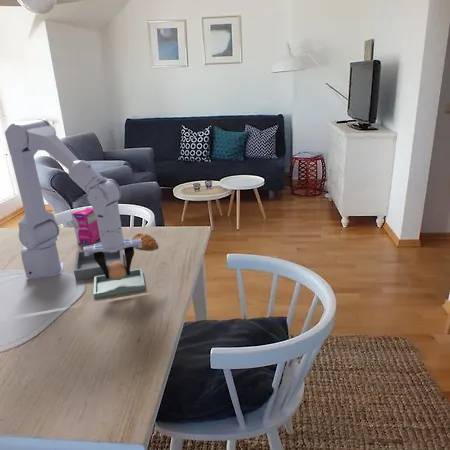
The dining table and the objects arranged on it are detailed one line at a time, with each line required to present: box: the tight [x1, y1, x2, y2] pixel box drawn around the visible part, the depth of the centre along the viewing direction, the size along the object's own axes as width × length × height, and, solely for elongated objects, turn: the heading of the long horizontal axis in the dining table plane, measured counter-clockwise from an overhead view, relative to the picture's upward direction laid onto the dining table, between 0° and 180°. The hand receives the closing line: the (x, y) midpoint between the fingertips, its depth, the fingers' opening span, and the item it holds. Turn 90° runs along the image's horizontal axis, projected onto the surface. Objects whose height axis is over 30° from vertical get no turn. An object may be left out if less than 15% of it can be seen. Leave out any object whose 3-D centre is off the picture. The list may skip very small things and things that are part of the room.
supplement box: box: [71, 207, 100, 245], centre depth 139 cm, size 6×6×12 cm
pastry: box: [131, 233, 159, 251], centre depth 134 cm, size 9×7×4 cm
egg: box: [108, 261, 127, 280], centre depth 110 cm, size 5×5×5 cm
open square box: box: [73, 250, 125, 281], centre depth 122 cm, size 13×13×4 cm
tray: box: [92, 268, 146, 299], centre depth 111 cm, size 13×10×2 cm
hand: (117, 275), depth 110 cm, fingers closed on egg, 5 cm apart
